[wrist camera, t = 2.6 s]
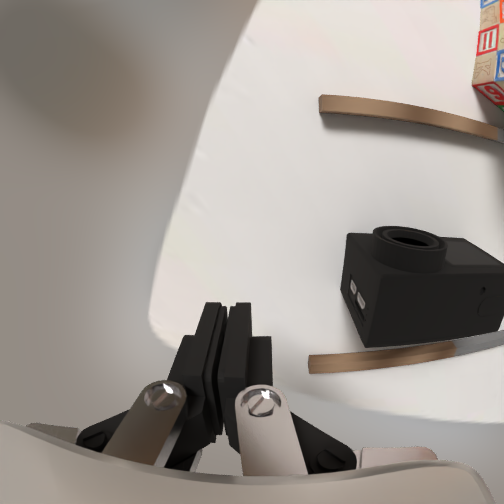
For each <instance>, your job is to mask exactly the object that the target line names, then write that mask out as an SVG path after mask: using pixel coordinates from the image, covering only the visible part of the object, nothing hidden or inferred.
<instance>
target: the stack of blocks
mask: <svg viewBox="0 0 504 504" xmlns="http://www.w3.org/2000/svg"><path fill="white" fill-rule="evenodd" d="M472 86H473V87H475V88H476V89H477V90H478V91H480V92H481V93H482V94H483V95H484V96H486V97H487V98H488V99H489V100H490V101H492V102H493V103H494V104H495V105H497V106H498V107H499V108H500V109H501V110H502V111H503V112H504V0H481V15H480V31H479V35H478V45H477V54H476V59H475V66H474V72H473V78H472Z"/></svg>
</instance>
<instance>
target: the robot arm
mask: <svg viewBox="0 0 504 504" xmlns="http://www.w3.org/2000/svg"><path fill="white" fill-rule="evenodd" d="M223 424H224V426H225V431H226V435H228V439H229V445H230V446H231V447H232V448H233V449H235V450H236V451H237V452H238V453H239V454H240V456H241V464H242V471H243V476H231V475H216V474H205V473H196V472H195V471H196V469H197V466H198V464H199V461H200V458H201V456H202V448H204V447H206V446H207V445H209V444H210V443H215V441H216V435H222V431H223ZM0 504H496V502H495V500H494V498H493V496H492V494H491V492H490V490H489V488H488V487H487V485H486V483H485V482H484V480H483V478H482V477H481V476H480V475H479V473H478V472H477V471H476V470H475V469H473V468H472V467H470V466H469V465H466V464H464V463H460V462H455V461H448V460H447V461H446V460H438V459H437V456H436V454H435V453H434V452H433V451H432V450H430V449H428V448H426V447H402V448H401V447H400V448H362V450H352V449H350V448H349V447H348V446H347V445H345V444H343V443H341V442H340V441H338V440H336V439H334V438H333V437H331V436H329V435H327V434H326V433H324V432H322V431H321V430H319V429H318V428H316V427H314V426H313V425H311V424H309V423H308V422H306V421H304V420H303V419H301V418H300V417H298V416H296V415H295V414H294V413H292V412H290V410H289V406H288V403H287V399H286V397H285V395H284V394H283V393H282V392H281V391H280V390H279V389H277V388H275V387H273V378H272V344H271V336H257V337H252V318H251V303H236V306H230V311H229V316H227V307H226V306H222V305H221V302H206V304H205V307H204V309H203V312H202V315H201V318H200V321H199V324H198V327H197V330H196V333H195V335H185V336H184V337H183V339H182V342H181V344H180V347H179V349H178V352H177V355H176V357H175V360H174V363H173V365H172V368H171V370H170V373H169V376H168V379H167V380H161V381H156V382H153V383H151V384H149V385H147V386H146V387H145V388H144V389H143V390H142V391H141V393H140V394H139V396H138V398H137V399H136V401H135V402H134V404H133V405H132V407H131V408H130V409H129V410H127V411H125V412H122V413H120V414H118V415H116V416H113V417H111V418H109V419H106V420H104V421H102V422H100V423H97V424H94V425H92V426H89V427H88V428H86V429H84V430H83V431H80V429H79V428H74V427H64V426H55V425H48V424H41V423H31V424H28V425H26V426H23V425H20V424H16V423H12V422H7V421H2V420H0Z"/></svg>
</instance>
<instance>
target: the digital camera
mask: <svg viewBox="0 0 504 504" xmlns="http://www.w3.org/2000/svg"><path fill="white" fill-rule="evenodd" d="M340 290H341V292H342V295H343V297H344V299H345V302H346V304H347V306H348V309H349V311H350V313H351V316H352V318H353V321H354V323H355V326H356V328H357V330H358V333H359V335H360V338H361V340H362V342H363V344H364V346H365V348H370V347H387V346H401V345H411V344H420V343H429V342H437V341H445V340H452V339H459V338H465V337H471V336H476V335H482V334H487V333H492V332H497V331H498V330H499V327H500V325H501V322H502V319H503V317H504V264H503V263H502V262H500V261H499V260H497V259H496V258H494V257H493V256H491V255H490V254H488V253H487V252H485V251H483V250H482V249H480V248H479V247H477V246H475V245H474V244H472V243H470V242H469V241H467V240H465V239H464V238H449V237H439V236H436V235H434V234H432V233H429V232H426V231H422V230H418V229H414V228H408V227H400V226H382V227H378V228H375V229H374V230H373V234H367V233H348V234H347V240H346V249H345V258H344V266H343V273H342V281H341V288H340Z"/></svg>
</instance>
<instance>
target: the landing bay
mask: <svg viewBox="0 0 504 504" xmlns="http://www.w3.org/2000/svg"><path fill="white" fill-rule="evenodd" d="M497 128H498V127H497ZM489 140H490V139H489ZM492 141H496V142H499V143H502V144H504V129H501V128H498V140H492ZM452 342H453V343H454V345H455V346H456V348H457V349H456V352H455V354H454V356H459V355H464V354H468V353H472V352H477V351H481V350H485V349H489V348H492V347H496V346H500V345H503V344H504V330H502V331H497V332H493V333H489V334H484V335H479V336H474V337H469V338H464V339H459V340H453V341H452Z"/></svg>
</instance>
